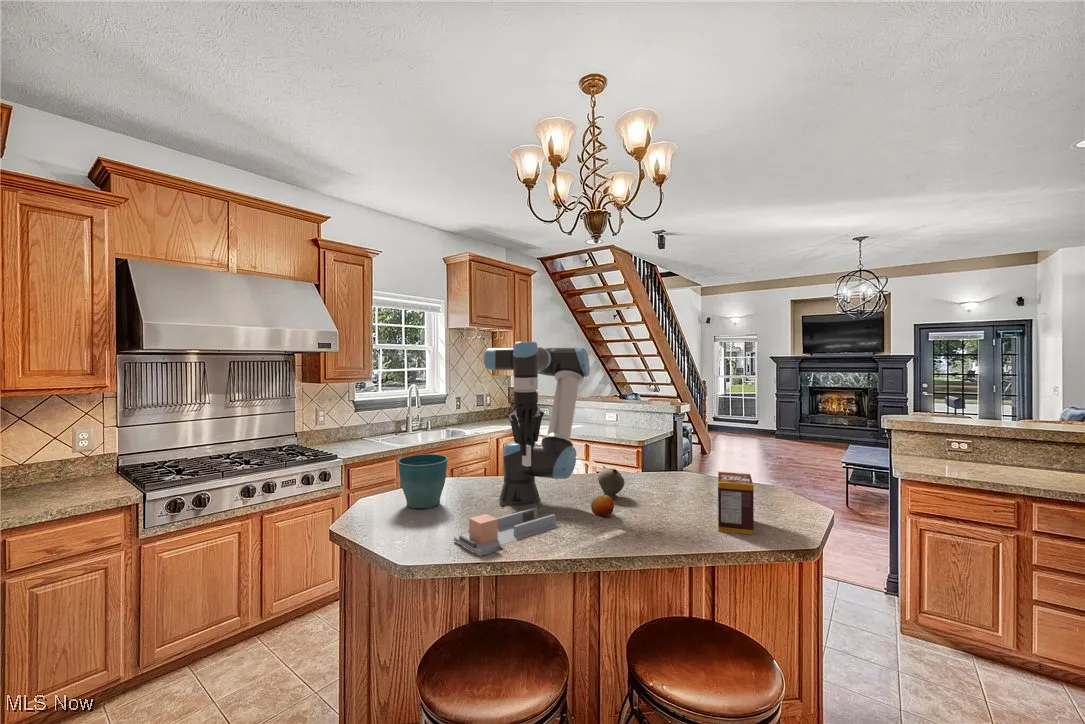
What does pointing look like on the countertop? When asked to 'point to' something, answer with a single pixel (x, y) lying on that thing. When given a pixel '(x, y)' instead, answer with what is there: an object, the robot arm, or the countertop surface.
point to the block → (483, 528)
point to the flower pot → (423, 479)
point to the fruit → (602, 506)
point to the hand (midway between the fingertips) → (526, 465)
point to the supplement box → (735, 503)
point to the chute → (510, 530)
